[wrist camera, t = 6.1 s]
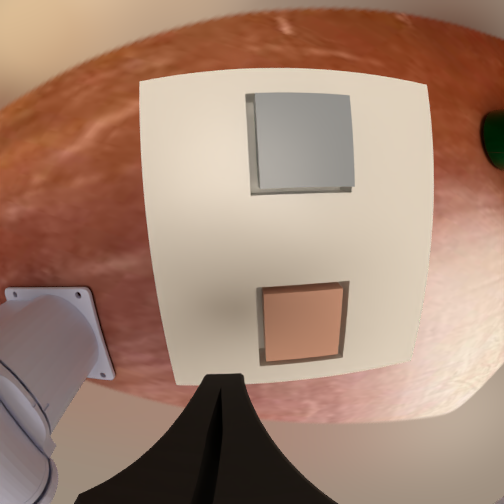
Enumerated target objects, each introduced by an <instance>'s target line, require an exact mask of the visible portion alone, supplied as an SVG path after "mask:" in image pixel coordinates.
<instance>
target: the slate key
mask: <svg viewBox="0 0 504 504" xmlns="http://www.w3.org/2000/svg"><path fill="white" fill-rule="evenodd" d="M253 104H254V122H255V140H256V158H257V177H258V187H259V188H260V189H269V188H296V187H355V172H354V147H353V130H352V116H351V105H350V95H340V94H324V93H294V92H273V93H255V96H254V102H253Z"/></svg>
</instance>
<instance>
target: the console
mask: <svg viewBox="0 0 504 504" xmlns="http://www.w3.org/2000/svg"><path fill="white" fill-rule="evenodd" d="M273 92H294V93H324V94H340V95H350V105H351V116H352V130H353V147H354V172H355V187H296V188H269V189H260V188H259V187H258V177H257V158H256V140H255V122H254V104H253V102H254V96H255V93H273ZM140 140H141V160H142V175H143V188H144V200H145V210H146V219H147V228H148V236H149V244H150V252H151V259H152V266H153V272H154V279H155V285H156V291H157V297H158V302H159V308H160V313H161V318H162V323H163V328H164V333H165V338H166V343H167V347H168V352H169V356H170V360H171V365H172V369H173V373H174V377H175V381H176V385H200V383H201V382H202V380H203V378H204V376H205V375H206V374H232V373H241V374H242V375H244V382H245V384H257V383H272V382H284V381H294V380H303V379H312V378H320V377H328V376H335V375H341V374H348V373H354V372H360V371H365V370H371V369H376V368H381V367H386V366H391V365H395V364H400V363H404V362H409V361H411V359H412V355H413V351H414V346H415V342H416V338H417V333H418V328H419V324H420V318H421V313H422V308H423V302H424V296H425V290H426V283H427V276H428V268H429V259H430V249H431V238H432V223H433V200H434V164H433V141H432V127H431V116H430V106H429V98H428V91H427V85H425V84H420V83H416V82H411V81H406V80H401V79H395V78H390V77H384V76H377V75H370V74H363V73H354V72H345V71H334V70H321V69H300V68H253V69H232V70H219V71H208V72H198V73H190V74H182V75H175V76H168V77H162V78H156V79H151V80H146V81H140ZM328 282H338V283H339V284H340V285H341V287H342V288H343V297H342V311H341V323H340V335H339V345H338V354H334V355H326V356H318V357H309V358H300V359H290V360H278V361H266V356H265V348H264V331H263V308H262V287H274V286H288V285H302V284H315V283H328Z"/></svg>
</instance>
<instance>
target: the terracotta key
mask: <svg viewBox="0 0 504 504" xmlns="http://www.w3.org/2000/svg"><path fill="white" fill-rule="evenodd" d="M342 297H343V288H342V287H341V285H340V284H339V283H338V282H328V283H315V284H302V285H288V286H274V287H262V308H263V331H264V348H265V356H266V361H278V360H290V359H300V358H309V357H318V356H326V355H334V354H338V345H339V335H340V323H341V311H342Z"/></svg>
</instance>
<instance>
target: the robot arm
mask: <svg viewBox="0 0 504 504" xmlns="http://www.w3.org/2000/svg"><path fill="white" fill-rule="evenodd" d="M78 292H79V293H80V294H81V296H79V295H78ZM16 293H17V294H16ZM5 296H6V299H7V301H6V302H4V303H3V304H1V305H0V504H50V503H51V502H52V500H53V498H54V495H55V492H56V489H57V485H58V471H57V467H56V465H55V463H54V461H53V460H52V459H51V458H50V456H51V455H52V453H53V451H54V449H55V447H56V444H55V443H54V442H53V440H52V439H51V437H50V435H51V433H52V432H53V430H54V428H55V427H56V425H57V423H58V422H59V420H60V418H61V417H62V415H63V414H64V412H65V410H66V409H67V407H68V406H69V404H70V402H71V401H72V399H73V398H74V396H75V395H76V393H77V392H78V390H79V388H80V387H81V385H82V384H83V382H84V381H85V379H86V378H95V379H104V380H113V379H114V377H115V372H114V369H113V366H112V364H111V361H110V358H109V354H108V351H107V348H106V345H105V342H104V338H103V335H102V332H101V328H100V325H99V321H98V317H97V314H96V310H95V306H94V302H93V298H92V294H91V291H90V290H89V289H88V288H87V287H8V288H6V289H5ZM103 373H104V374H105V375H104V374H103ZM74 504H338V503H336V502H335V501H333V500H332V499H331V498H329V497H328V496H327V495H325V494H324V493H323V492H322V491H320V490H319V489H318V488H317V487H315V486H314V485H313V484H312V483H311V482H310V481H308V480H307V479H306V478H305V477H304V476H303V475H302V474H301V473H300V472H299V471H298V470H297V469H296V468H295V467H294V466H293V465H292V464H291V462H289V460H288V459H287V458H286V457H285V456H284V454H283V453H282V452H281V451H280V449H279V448H278V447H277V445H276V444H275V443H274V441H273V440H272V439H271V437H270V436H269V434H268V433H267V431H266V429H265V428H264V426H263V424H262V423H261V421H260V419H259V417H258V415H257V413H256V411H255V409H254V407H253V405H252V403H251V401H250V398H249V395H248V393H247V390H246V386H245V382H244V375H242V374H241V373H232V374H206V375H205V376H204V378H203V380H202V382H201V383H200V385H199V387H198V389H197V390H196V392H195V394H194V395H193V397H192V399H191V400H190V402H189V403H188V404H187V406H186V407H185V409H184V410H183V412H182V413H181V415H180V416H179V417H178V418H177V420H176V421H175V422H174V423H173V425H172V426H171V427H170V428H169V430H168V431H167V432H166V433H165V434H164V435H163V436H162V437H161V438H160V440H158V441H157V442H156V443H155V444H154V445H153V446H152V448H150V449H149V450H148V451H147V452H146V453H145V454H143V455H142V456H141V457H140V458H139V459H138V460H136V461H135V462H134V463H133V464H131V465H130V466H128V467H127V468H126V469H124V470H123V471H121V472H120V473H118V474H117V475H115V476H114V477H112V478H110V479H109V480H107V481H105V482H104V483H102V484H100V485H98V486H96V487H94V488H91V489H90V490H87V491H85V492H83V493H81V494H79V495H78V497H77V499H76V501H75V503H74ZM493 504H504V496H503V497H502V498H500V499H499V500H498V501H496V502H495V503H493Z"/></svg>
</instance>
